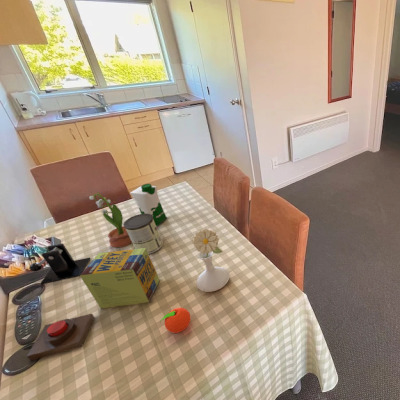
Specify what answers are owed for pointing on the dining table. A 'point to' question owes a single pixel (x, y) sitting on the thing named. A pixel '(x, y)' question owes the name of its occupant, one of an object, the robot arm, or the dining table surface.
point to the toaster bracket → (62, 264)
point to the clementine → (177, 320)
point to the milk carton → (149, 202)
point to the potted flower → (114, 223)
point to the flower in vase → (209, 262)
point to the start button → (57, 328)
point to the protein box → (121, 278)
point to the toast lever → (41, 262)
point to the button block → (62, 338)
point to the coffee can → (143, 232)
